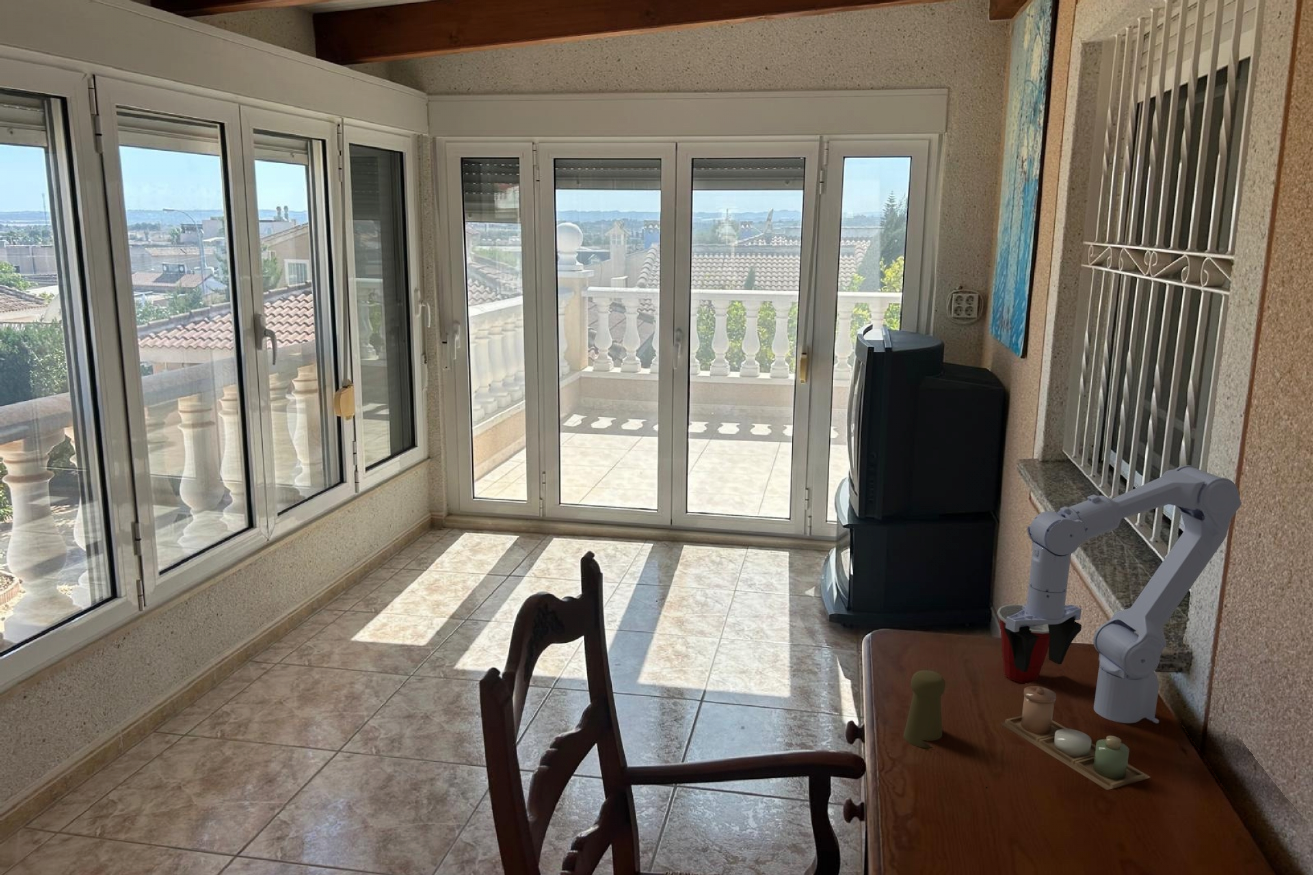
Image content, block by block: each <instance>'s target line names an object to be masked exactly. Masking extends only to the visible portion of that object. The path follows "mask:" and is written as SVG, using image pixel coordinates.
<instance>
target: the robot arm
mask: <svg viewBox="0 0 1313 875" xmlns="http://www.w3.org/2000/svg"><path fill="white" fill-rule="evenodd" d="M1167 505H1170V506H1175V507H1176V509H1177V511H1178V512H1179V513H1180V515H1181V518H1182V522H1183V526H1184V531H1183V532H1182V534H1180V536H1179V538H1178V539H1177V541H1175V543H1174V545H1173V546H1172V548H1171V549H1170V550H1169V552H1168V554H1167V555H1166V556H1165V558H1164V559H1163V561H1162V562H1161V563H1160V565H1159V566H1158V568H1157V569H1156V570H1155V572H1154V574H1153V575H1152V576H1151V578H1150V580H1149V581H1148V582H1147V584H1146V585H1145V587H1144V588H1143V589H1142V591H1141V592H1140V594H1139V595H1138V597H1137V598H1136V599H1135V600H1134V602H1133V604H1132V605H1131V607H1129V608H1126V609H1122V610H1119V611H1115V613H1114V614H1113V615H1112V617H1111V618H1109V619H1108V621H1106V622H1104V623H1103V624H1101V625H1100V626H1099V627H1098V628H1097V629H1096V631H1095V633H1094V635H1093V641H1092V642H1093V647H1094V648H1095V650H1096V651H1097V652H1098V653H1099V655H1098V661H1099V666H1098V673H1097V681H1096V689H1095V694H1094V697H1095V698H1094V701H1093V702H1094V703H1093V710H1094V712H1095V713H1096V714H1098V716H1100V717H1102V718H1104V719H1107V720H1109V721H1113V722H1115V723H1121V724H1133V723H1134V724H1135V723H1137V722H1139V721H1141V720H1142V719H1146V720H1149V721H1151V722H1153V723H1155V724H1159V723H1160V720H1159V719H1158V718H1156V716H1155V715H1156V710H1157V703H1158V697H1159V691H1160V690H1159V689H1160V685H1159V684H1160V683H1159V679H1158V676H1157V674H1156V673H1155V671H1156V670H1157V668H1158V666H1159V664H1160V660H1161V655H1162V653H1163V651H1164V650H1165V648H1166V646H1167V641H1166V636H1165V632H1164V626H1165V625H1166V623H1167V622H1168V621H1169V619H1170V618H1171V617H1172V615H1173V613H1174V612H1175V610H1177V608H1178V607H1179V605H1180V604H1181V602H1182V601H1183V600H1184V598H1185V596H1186V595H1187V594H1188V592H1189V591H1190V589H1191V588H1192V587H1193V585H1194V584H1195V582H1196V581H1197V580H1198V578H1199V576H1200V575H1201V574H1202V573H1203V571H1204V569H1205V568H1206V566H1207V565H1208V564H1209V562H1210V561H1211V559H1212V558H1213V556H1214V555H1215V554H1216V553H1217V551H1218V550H1219V549H1220V546H1221V545H1222V544H1223V543H1224V541H1225V540H1226V537H1227V535H1228V532H1229V527H1230V524H1231V520H1232V518H1233V517H1234V515H1236V513H1237V511H1238V510H1239V509H1240V507H1241V506H1242V501H1241V497H1240V494H1239V489H1238V487H1237V485H1236V483H1235V482H1234V481H1233V480H1231V479H1230V478H1229V479H1228V478H1226V477H1221V476H1218V475H1215V474H1213V473H1210V472H1208V471H1207V472H1206V471H1204V470H1202V469H1199V468H1197V467H1196V466H1193V465H1189V464H1185V465H1181V466H1178V467H1176V468H1175V469H1168V470H1166V471H1164V473H1163V474H1162V475H1161V476H1160V477H1158V478H1156V479H1153V480H1151V481H1149V482H1147V483H1144V484H1142V485H1140V486H1138V487H1136V488H1134V489H1131V490H1129V491H1127V492H1124V493H1122V494H1120V495H1118V496H1115V497H1114V498H1109V497H1108V496H1105V495H1097V494H1091V495H1089V496H1087V500H1085V501H1082V502H1079V503H1076V504H1074V505H1070V506H1069V507H1067V506H1063V507H1060V508H1059V511H1057V512H1055V511H1051V510H1046V511H1042V512H1040V513H1038V514H1036V516H1035V517H1034V518H1033V519H1032V521H1031V524H1030V525H1028V526H1027V527H1026V529H1027V531H1026V532H1027V535H1028V537H1029V539H1030V540H1031V543H1032V546H1031V550H1032V554H1031V561H1030V570H1029V580H1028V589H1027V597H1026V603H1024V604H1021V605H1022V609H1023V610H1021V611H1019V612H1018V613H1016V614H1014V615H1012V616H1008V617H1007V619H1006V624H1005V625H1004V630H1005V632H1006V634H1007V636H1008V639H1009V641H1010V644H1011V647H1012V652H1013V657H1014V663H1015V668H1017V669H1019V670H1021V671H1023V672H1027V671H1028V669H1029V665H1030V660H1031V654H1032V651H1033V648H1034V646H1035V644H1036V642H1037V640H1038V638H1039V636H1037V635H1035V634H1033V633H1031V630H1030V627H1034V626H1039V625H1044V624H1048V628H1049V648H1048V659H1049V660H1048V661H1050V662H1053V663H1055V664H1056V665H1062V664H1063V662H1064V659H1065V657H1066V655H1067V652H1068V650H1069V648H1070V646H1071V644H1072V642H1073V641H1074V639H1075V638H1076V637H1077V635H1079V634H1080V632H1081V631H1082V624H1081V623H1079V622H1077V621H1079V620H1081V615H1082V608H1081V607H1078V606H1077V605H1075V604H1066V599H1067V598H1066V597H1067V591H1068V581H1069V574H1070V566H1071V558H1072V554H1073V553H1075V552H1076V551H1077V550H1078V549H1079V547H1080V546H1081V544H1082V543H1084V542H1086V541H1088V540H1090V539H1092V538H1096V537H1098V536H1101V535H1103V534H1106V533H1109V532H1111V531H1114V530H1116V529H1118V527H1119V526H1120V524H1121V521H1122V519H1125V518H1129V517H1133V516H1135V515H1138V514H1141V513H1144V512H1148V511H1152V510H1154V509H1158V508H1161V507H1164V506H1167ZM1136 632H1137V633H1136Z"/></svg>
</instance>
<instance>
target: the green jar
mask: <svg viewBox="0 0 1313 875" xmlns="http://www.w3.org/2000/svg"><path fill="white" fill-rule="evenodd" d="M1095 745H1096V751H1095V758H1094V766H1093V769H1094V771H1095V772H1096V773H1097V774H1099V775H1101V776H1103V777H1106V778H1109V779H1123V778H1125V776H1126V770H1127V764H1129V762H1128V761H1129V756H1130V755H1129V754H1130V748H1129V747H1128V746H1127V745H1126V744H1124V743H1122V739H1121V738H1119V737H1117V736H1115V735H1107V736H1106V738H1104V739H1099V740H1097V741H1096V743H1095Z"/></svg>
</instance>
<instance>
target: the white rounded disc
mask: <svg viewBox="0 0 1313 875" xmlns="http://www.w3.org/2000/svg"><path fill="white" fill-rule="evenodd" d="M1091 743H1093V742H1092V738H1091V737H1090V736H1089V735H1088V734H1087V733H1084V732H1083V731H1080V730H1078V729H1077V730H1076V729H1073V728H1067V729H1059V730H1057V731H1056V732H1055V739H1054V748H1056V749H1058V750H1059V751H1061V752H1063V753H1064V754H1066V755H1068V756H1070V757H1076V758H1080V757H1083V756H1087V755H1090V750H1091Z"/></svg>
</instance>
